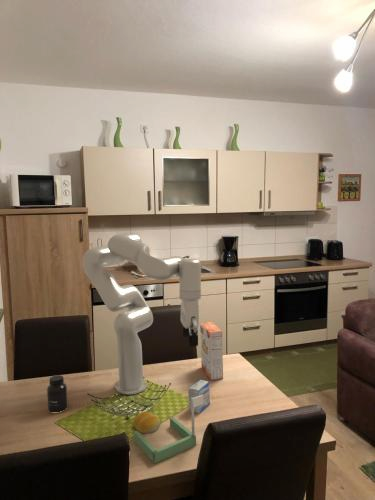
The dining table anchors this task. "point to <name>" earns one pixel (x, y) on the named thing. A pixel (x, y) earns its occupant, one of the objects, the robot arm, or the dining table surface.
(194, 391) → the medicine box
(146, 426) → the bread roll
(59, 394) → the supplement bottle
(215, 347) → the cracker box
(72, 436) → the dining table surface
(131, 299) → the robot arm
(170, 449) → the green u-shaped frame
